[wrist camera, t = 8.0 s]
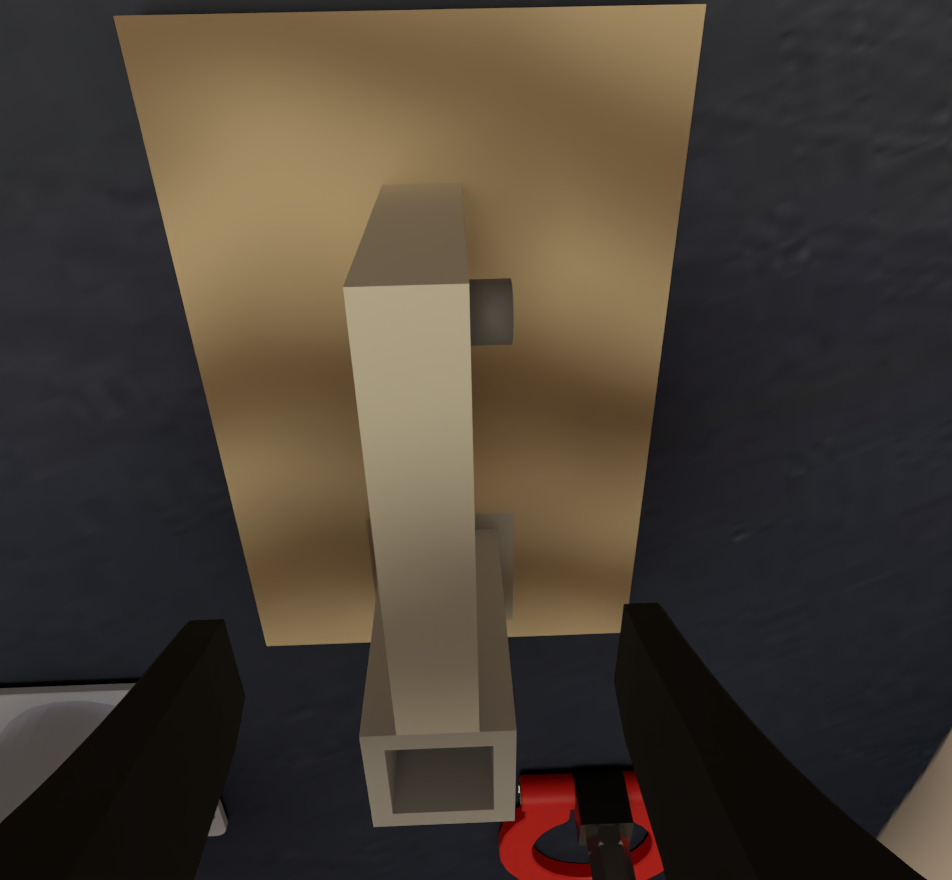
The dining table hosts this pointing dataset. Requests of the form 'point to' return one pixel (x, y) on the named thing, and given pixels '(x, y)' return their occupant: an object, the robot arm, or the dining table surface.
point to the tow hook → (580, 826)
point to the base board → (489, 257)
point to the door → (429, 519)
